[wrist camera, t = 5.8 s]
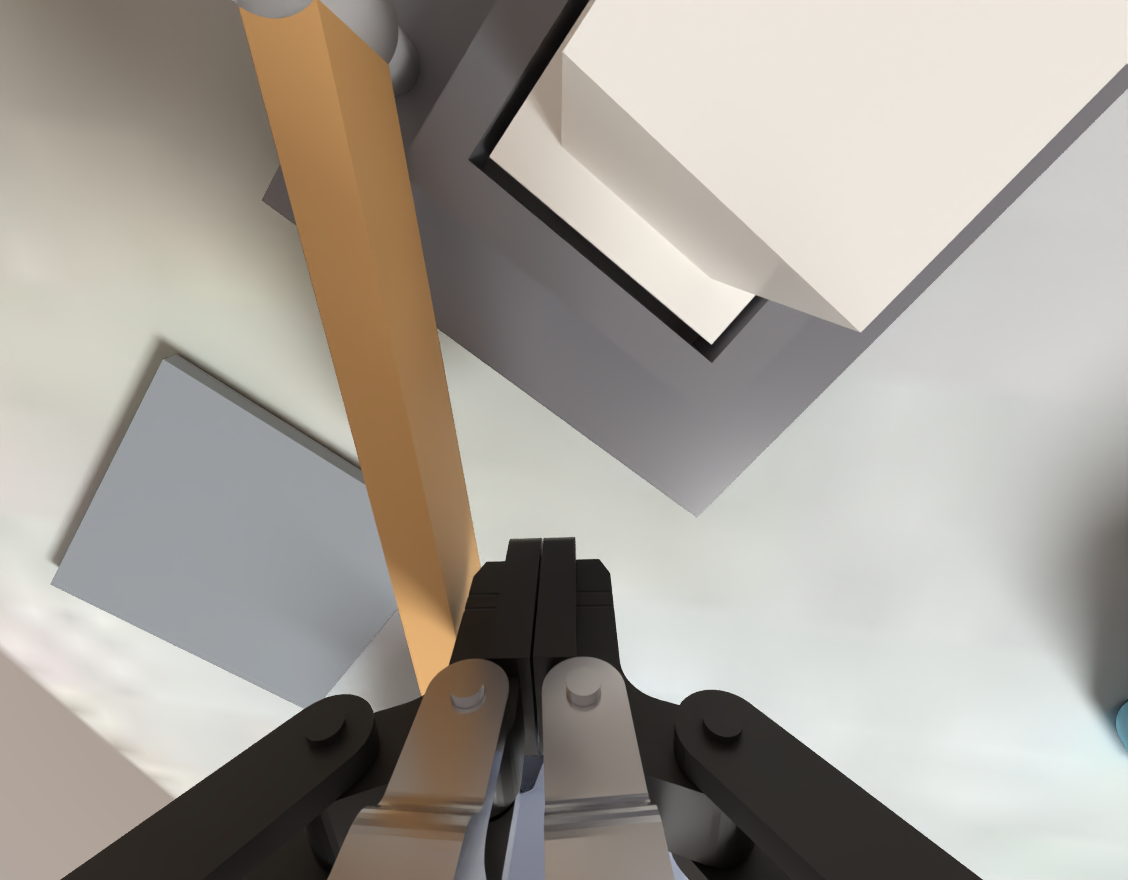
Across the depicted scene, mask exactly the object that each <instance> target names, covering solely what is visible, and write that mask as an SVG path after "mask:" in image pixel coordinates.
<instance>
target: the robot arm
mask: <svg viewBox="0 0 1128 880" xmlns="http://www.w3.org/2000/svg"><path fill="white" fill-rule="evenodd" d="M538 740H539V741H540V754H541V755H543V757H544V792H545V812H544V853H545V880H675V879H674V874H673V870H672V865H671V861H670V856H669V852H671V854H672V857H673V859H674V861H675V862H676V864H677V866H678V867H679V868H680V870H681V871H682V872H683V874H684V875H685V876H686V877H687V878H688V879H689V880H982V879H981V878H980V877H978V876H977V875H976V874H975V873H973V872H972V871H971V870H969V869H968V868H967V867H965V866H964V865H963V864H961V863H960V862H959V861H957V860H956V859H955V858H953V857H952V856H951V855H949V854H948V853H947V852H945V851H944V850H943V849H942V848H940V847H939V846H938V845H936V844H935V843H934V842H932V841H931V840H930V839H928V838H927V837H926V836H924V835H923V834H922V833H920V832H919V831H918V830H916V829H915V828H914V827H912V826H911V825H910V824H909V823H907V822H906V821H905V820H903V819H902V818H901V817H899V816H898V815H897V814H895V813H894V812H893V811H891V810H890V809H889V808H887V807H886V806H885V805H883V804H882V803H881V802H879V801H878V800H877V799H876V798H874V797H873V796H872V795H870V794H869V793H868V792H866V791H865V790H864V789H862V788H861V787H860V786H858V785H857V784H856V783H854V782H853V781H852V780H850V779H849V778H848V777H846V776H845V775H844V774H843V773H841V772H840V771H839V770H837V769H836V768H835V767H833V766H832V765H831V764H829V763H828V762H827V761H825V760H824V759H823V758H821V757H820V756H819V755H817V754H816V753H815V752H813V751H812V750H811V749H810V748H808V747H807V746H806V745H804V744H803V743H802V742H800V741H799V740H798V739H796V738H795V737H794V736H792V735H791V734H790V733H788V732H787V731H786V730H784V729H783V728H782V727H780V726H779V725H778V724H777V723H775V722H774V721H773V720H771V719H770V718H769V717H767V716H766V715H765V714H763V713H762V712H761V711H759V710H758V709H757V708H755V707H754V706H753V705H751V704H750V703H749V702H747V701H746V700H744V699H743V698H741V697H739V696H737V695H734V694H732V693H729V692H725V691H720V690H703V691H699V692H696V693H693V694H691V695H690V696H688V697H687V698H685V699H684V700H683V701H682V702H681V704H680V705H677V704H673V703H669V702H666V701H662V700H659V699H656V698H653V697H650V696H648V695H646V694H644V693H642V692H641V691H639V690H638V689H637V688H635V687H634V686H633V685H632V684H631V683H630V682H629V681H628V679H627V678H626V677H625V675H624V673H623V671H622V669H621V665H620V659H619V650H618V641H617V632H616V622H615V613H614V604H613V595H612V586H611V577H610V573H609V571H608V570H607V569H606V567H605V566H604V565H603V563H602V562H601V561H600V560H599V559H582V560H576V544H575V537H565V538H544V539H543V541H542V538H529V539H510V541H509V545H508V550H507V555H506V560H505V561H501V562H486V563H485V564H484V565H483V566H482V568H481V569H480V570H479V571H478V572H477V573H476V574H475V575H474V576H473V580H472V583H471V587H470V590H469V597H468V598H467V601H466V605H465V611H464V612H463V616H462V619H461V623H460V626H459V630H458V634H457V637H456V641H455V644H454V648H453V652H452V655H451V659H450V662H449V666H447V667H446V668H444V669H443V670H441V671H440V672H439V673H438V674H437V675H436V676H435V677H434V678H433V679H432V681H431V682H430V683H429V685H428V687H427V690H426V692H425V694H424V695H423V696H421V697H419V698H417V699H415V700H413V701H411V702H408V703H405V704H402V705H399V706H395V707H392V708H389V709H385V710H382V711H378V712H375V713H373V710H372V708H371V706H370V704H369V703H368V702H367V701H366V700H364V699H363V698H361V697H359V696H355V695H350V694H341V695H334V696H330V697H327V698H324V699H321V700H319V701H317V702H315V703H313V704H311V705H310V706H308V707H306V708H305V709H303V710H302V711H301V712H299V713H298V714H296V715H295V716H293V717H292V718H291V719H289V720H288V721H286V722H285V723H283V724H282V725H281V726H279V727H278V728H276V729H275V730H273V731H272V732H271V733H269V734H268V735H266V736H265V737H263V738H262V739H261V740H259V741H258V742H256V743H255V744H253V745H252V746H251V747H249V748H248V749H246V750H245V751H243V752H242V753H241V754H239V755H238V756H236V757H235V758H233V759H232V760H231V761H229V762H228V763H226V764H225V765H223V766H222V767H221V768H219V769H218V770H216V771H215V772H214V773H212V774H211V775H209V776H208V777H206V778H205V779H204V780H202V781H201V782H199V783H198V784H196V785H195V786H194V787H192V788H191V789H189V790H188V791H186V792H185V793H184V794H182V795H181V796H179V797H178V798H176V799H175V800H174V801H172V802H171V803H169V804H168V805H167V806H165V807H164V808H162V809H161V810H159V811H158V812H156V813H155V814H154V815H152V816H151V817H149V818H148V819H146V820H145V821H144V822H142V823H141V824H139V825H138V826H136V827H135V828H134V829H132V830H131V831H129V832H128V833H126V834H125V835H124V836H122V837H121V838H119V839H118V840H117V841H115V842H114V843H112V844H111V845H109V846H108V847H107V848H105V849H104V850H102V851H101V852H99V853H98V854H97V855H95V856H94V857H92V858H91V859H89V860H88V861H86V862H85V863H84V864H82V865H81V866H79V867H78V868H76V869H75V870H74V871H72V872H71V873H69V874H68V875H67V876H65V877H64V878H62V879H61V880H508V874H509V868H510V862H511V856H512V850H513V843H514V837H515V831H516V825H517V819H518V813H519V807H520V797H521V796H520V787H521V782H522V774H523V763H524V755H538ZM668 851H669V852H668Z"/></svg>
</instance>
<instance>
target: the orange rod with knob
mask: <svg viewBox="0 0 1128 880" xmlns="http://www.w3.org/2000/svg"><path fill="white" fill-rule="evenodd" d="M232 1H233V2H234V3H236V4H237V5H238V6H239V10H240V14H241V17H242V21H243V25H244V29H245V32H246V36H247V40H248V44H249V48H250V51H251V55H252V59H253V63H254V66H255V70H256V74H257V78H258V81H259V85H260V89H261V93H262V97H263V100H264V104H265V108H266V112H267V115H268V119H269V123H270V127H271V131H272V134H273V138H274V142H275V146H276V149H277V153H278V157H279V161H280V164H281V168H282V172H283V176H284V180H285V183H286V187H287V191H288V195H289V198H290V202H291V206H292V210H293V213H294V217H295V221H296V225H297V229H298V232H299V236H300V240H301V244H302V247H303V251H304V255H305V259H306V263H307V266H308V270H309V274H310V278H311V281H312V285H313V289H314V293H315V296H316V300H317V304H318V308H319V312H320V315H321V319H322V323H323V327H324V330H325V334H326V338H327V342H328V345H329V349H330V353H331V357H332V361H333V364H334V368H335V372H336V376H337V379H338V383H339V387H340V391H341V395H342V398H343V402H344V406H345V410H346V413H347V417H348V421H349V425H350V428H351V432H352V436H353V440H354V444H355V447H356V451H357V455H358V459H359V462H360V466H361V470H362V474H363V478H364V481H365V485H366V489H367V493H368V496H369V500H370V504H371V508H372V511H373V515H374V519H375V523H376V527H377V530H378V534H379V538H380V542H381V545H382V549H383V553H384V557H385V560H386V564H387V568H388V572H389V576H390V579H391V583H392V587H393V591H394V594H395V598H396V602H397V606H398V610H399V613H400V617H401V621H402V625H403V628H404V632H405V636H406V640H407V643H408V647H409V651H410V655H411V659H412V662H413V666H414V670H415V674H416V677H417V681H418V685H419V689H420V692H421V696H423V695H424V694H425V692H426V690H427V687H428V685H429V683H430V682H431V681H432V679H433V678H434V677H435V676H436V675H437V674H438V673H439V672H440V671H441V670H443V669H444V668H446V667H447V666H449V662H450V659H451V655H452V652H453V648H454V644H455V641H456V637H457V634H458V630H459V626H460V623H461V619H462V616H463V612H464V611H465V605H466V601H467V598H468V597H469V590H470V587H471V583H472V580H473V576H474V575H475V574H476V573H477V572H478V571H479V570H480V569H481V566H480V561H479V555H478V550H477V544H476V539H475V533H474V528H473V522H472V517H471V512H470V506H469V501H468V495H467V490H466V484H465V479H464V473H463V468H462V463H461V457H460V452H459V446H458V441H457V435H456V430H455V424H454V419H453V414H452V408H451V403H450V397H449V392H448V386H447V381H446V375H445V370H444V365H443V359H442V354H441V348H440V343H439V337H438V332H437V326H436V321H435V316H434V310H433V305H432V299H431V294H430V288H429V283H428V277H427V272H426V267H425V261H424V256H423V250H422V245H421V239H420V234H419V228H418V223H417V218H416V212H415V207H414V201H413V196H412V190H411V185H410V179H409V174H408V169H407V163H406V158H405V152H404V147H403V141H402V136H401V130H400V125H399V119H398V114H397V109H396V103H395V98H394V92H393V87H392V81H391V76H390V70H389V65H388V64H389V63H390V61H391V60H392V58H393V56H394V53H395V50H396V47H397V43H398V20H397V15H396V11H395V8H394V6H393V3H392V1H391V0H232Z"/></svg>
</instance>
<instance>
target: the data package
mask: <svg viewBox="0 0 1128 880" xmlns="http://www.w3.org/2000/svg"><path fill="white" fill-rule="evenodd" d="M1116 728H1117V732H1118V735H1119V737H1120V740H1121V741H1122V743H1123V745H1124V746H1125V748H1126V749H1127V751H1128V701H1127V702H1126V703H1125V704H1124V705H1123V706H1122V707H1121V708H1120V710H1119V712H1118V715H1117V718H1116Z"/></svg>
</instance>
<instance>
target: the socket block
mask: <svg viewBox="0 0 1128 880" xmlns="http://www.w3.org/2000/svg"><path fill="white" fill-rule="evenodd" d="M391 1H392V3H393V6H394V8H395V11H396V15H397V20H398V43H397V47H396V50H395V53H394V56H393V58H392V60H391V61H390V63H389V64H388V65H389V70H390V76H391V81H392V87H393V92H394V98H395V103H396V109H397V114H398V119H399V125H400V130H401V136H402V141H403V147H404V152H405V158H406V163H407V169H408V174H409V179H410V185H411V190H412V196H413V201H414V207H415V212H416V218H417V223H418V228H419V234H420V239H421V245H422V250H423V256H424V261H425V267H426V272H427V277H428V283H429V288H430V294H431V299H432V305H433V310H434V316H435V321H436V326H437V328H438V329H439V330H440V331H442V332H443V333H444V334H446V335H447V336H449V337H450V338H451V339H453V340H454V341H455V342H457V343H458V344H460V345H461V346H462V347H464V348H465V349H466V350H468V351H469V352H471V353H472V354H473V355H475V356H476V357H477V358H479V359H480V360H481V361H483V362H484V363H486V364H487V365H488V366H490V367H491V368H492V369H494V370H495V371H497V372H498V373H499V374H501V375H502V376H503V377H505V378H506V379H508V380H509V381H510V382H512V383H513V384H514V385H516V386H517V387H518V388H520V389H521V390H523V391H524V392H525V393H527V394H528V395H529V396H531V397H532V398H534V399H535V400H536V401H538V402H539V403H540V404H542V405H543V406H545V407H546V408H547V409H549V410H550V411H551V412H553V413H554V414H555V415H557V416H558V417H560V418H561V419H562V420H564V421H565V422H566V423H568V424H569V425H571V426H572V427H573V428H575V429H576V430H577V431H579V432H580V433H582V434H583V435H584V436H586V437H587V438H588V439H590V440H591V441H592V442H594V443H595V444H597V445H598V446H599V447H601V448H602V449H603V450H605V451H606V452H608V453H609V454H610V455H612V456H613V457H614V458H616V459H617V460H619V461H620V462H621V463H623V464H624V465H625V466H627V467H628V468H629V469H631V470H632V471H634V472H635V473H636V474H638V475H639V476H640V477H642V478H643V479H645V480H646V481H647V482H649V483H650V484H651V485H653V486H654V487H656V488H657V489H658V490H660V491H661V492H662V493H664V494H665V495H666V496H668V497H669V498H671V499H672V500H673V501H675V502H676V503H677V504H679V505H680V506H682V507H683V508H684V509H686V510H687V511H688V512H690V513H691V514H693V515H694V516H695V517H698V516H699V515H700V514H701V513H702V512H703V511H704V510H705V509H706V508H707V507H708V506H709V505H710V504H711V503H712V502H713V501H714V500H715V499H716V498H717V497H718V496H719V495H720V494H721V493H722V492H723V491H724V490H725V489H726V488H727V487H728V486H729V485H730V484H731V483H732V482H733V481H734V480H735V479H736V478H737V477H738V476H739V475H740V474H741V473H742V472H743V471H744V470H745V469H746V468H747V467H748V466H749V465H750V464H751V463H752V462H753V461H754V460H755V459H756V458H757V457H758V456H759V455H760V454H761V453H762V452H763V451H764V450H765V449H766V448H767V447H768V446H769V445H770V444H771V443H772V442H773V441H774V440H775V439H776V438H777V437H778V436H779V435H780V434H781V433H782V432H783V431H784V430H785V429H786V428H787V427H788V426H789V425H790V424H791V423H792V422H793V421H794V420H795V419H796V418H797V417H798V416H799V415H800V414H801V413H802V412H803V411H804V410H805V409H806V408H807V407H808V406H809V405H810V404H811V403H812V402H813V401H814V400H815V399H816V398H817V397H818V396H819V395H820V394H821V393H822V392H823V391H824V390H825V389H826V388H827V387H828V386H829V385H830V384H831V383H832V382H833V381H834V380H835V379H836V378H837V377H838V376H839V375H840V374H841V373H842V372H843V371H844V370H845V369H846V368H847V367H848V366H849V365H850V364H851V363H852V362H853V361H854V360H855V359H856V358H857V357H858V356H859V355H860V354H862V353H863V352H864V351H865V350H866V349H867V348H868V347H869V346H870V345H871V344H872V343H873V342H874V341H875V340H876V339H877V338H878V337H879V336H880V335H881V334H882V333H883V332H884V331H885V330H886V329H887V328H888V327H889V326H890V325H891V324H892V323H893V322H894V321H895V320H896V319H897V318H898V317H899V316H900V315H901V314H902V313H903V312H904V311H905V310H906V309H907V308H908V307H909V306H910V305H911V304H912V303H913V302H914V301H915V300H916V299H917V298H918V297H919V296H920V295H921V294H922V293H923V292H924V291H925V290H926V289H927V288H928V287H929V286H930V285H931V284H932V283H933V282H934V281H935V280H936V279H937V278H938V277H939V276H940V275H941V274H942V273H943V272H944V271H945V270H946V269H947V268H948V267H949V266H950V265H951V264H952V263H953V262H954V261H955V260H956V259H957V258H958V257H959V256H960V255H961V254H962V253H963V252H964V251H965V250H966V249H967V248H968V247H969V246H970V245H971V244H972V243H973V242H974V241H975V240H976V239H977V238H978V237H979V236H980V235H981V234H982V233H983V232H984V231H985V230H986V229H987V228H988V227H989V226H990V225H991V224H992V223H993V222H994V221H995V220H996V219H997V218H998V217H999V216H1000V215H1001V214H1002V213H1003V212H1004V211H1005V210H1006V209H1007V208H1008V207H1009V206H1010V205H1011V204H1012V203H1013V202H1014V201H1015V200H1016V199H1017V198H1018V197H1019V196H1020V195H1021V194H1022V193H1023V192H1024V191H1025V190H1026V189H1027V188H1028V187H1029V186H1030V185H1031V184H1032V183H1033V182H1034V181H1035V180H1036V179H1037V178H1038V177H1039V176H1040V175H1041V174H1042V173H1043V172H1044V171H1045V170H1046V169H1047V168H1048V167H1049V166H1050V165H1051V164H1052V163H1053V162H1054V161H1055V160H1056V159H1057V158H1058V157H1059V156H1060V155H1061V154H1062V153H1063V152H1064V151H1065V150H1066V149H1067V148H1068V147H1069V146H1070V145H1071V144H1072V143H1073V142H1074V141H1075V140H1076V139H1077V138H1078V137H1079V136H1080V135H1081V134H1082V133H1083V132H1084V131H1085V130H1086V129H1087V128H1088V127H1089V126H1090V125H1091V124H1092V123H1093V122H1094V121H1095V120H1096V119H1097V118H1098V117H1099V116H1100V115H1101V114H1102V113H1103V112H1104V111H1105V110H1106V109H1107V108H1108V107H1109V106H1110V105H1111V104H1112V103H1113V102H1114V101H1115V100H1116V99H1117V98H1118V97H1119V96H1120V95H1121V94H1122V93H1123V92H1124V91H1125V90H1126V89H1127V88H1128V64H1126V65H1125V66H1124V67H1123V68H1122V69H1121V70H1120V71H1119V72H1118V73H1117V74H1116V75H1115V76H1114V77H1113V78H1112V79H1111V80H1110V81H1109V82H1108V83H1107V84H1106V85H1105V86H1104V87H1103V88H1102V89H1101V90H1100V91H1099V92H1098V93H1097V94H1096V95H1095V96H1094V97H1093V98H1092V99H1091V100H1090V101H1089V102H1088V103H1087V104H1086V105H1085V106H1084V107H1083V108H1082V109H1081V110H1080V111H1079V112H1078V113H1077V114H1076V115H1075V116H1074V117H1073V118H1072V119H1071V120H1070V121H1069V122H1068V123H1067V124H1066V125H1065V126H1064V127H1063V128H1062V129H1061V130H1060V131H1059V132H1058V133H1057V134H1056V136H1055V137H1054V138H1053V139H1052V140H1051V141H1050V142H1049V143H1048V144H1047V145H1046V146H1045V147H1044V148H1043V149H1042V150H1041V151H1040V152H1039V153H1038V154H1037V155H1036V156H1035V157H1034V158H1033V159H1032V160H1031V161H1030V162H1029V163H1028V164H1027V165H1026V166H1025V167H1024V168H1023V169H1022V170H1021V171H1020V172H1019V173H1018V174H1017V175H1016V176H1015V177H1014V178H1013V179H1012V180H1011V181H1010V182H1009V183H1008V184H1007V185H1006V186H1005V187H1004V188H1003V189H1002V190H1001V191H1000V192H999V193H998V194H997V195H996V196H995V197H994V198H993V199H992V200H991V201H990V202H989V203H988V204H987V205H986V206H985V207H984V208H983V209H982V210H981V211H980V212H979V213H978V214H977V215H976V216H975V217H974V218H973V220H972V221H971V222H970V223H969V224H968V225H967V226H966V227H965V228H964V229H963V230H962V231H961V232H960V233H959V234H958V235H957V236H956V237H955V238H954V239H953V240H952V241H951V242H950V243H949V244H948V245H947V246H946V247H945V248H944V249H943V250H942V251H941V252H940V253H939V254H938V255H937V256H936V257H935V258H934V259H933V260H932V261H931V262H930V263H929V264H928V265H927V266H926V267H925V268H924V269H923V270H922V271H921V272H920V273H919V274H918V275H917V276H916V277H915V278H914V279H913V280H912V281H911V282H910V283H909V284H908V285H907V286H906V287H905V288H904V289H903V290H902V291H901V292H900V293H899V294H898V295H897V296H896V297H895V298H894V299H893V300H892V301H891V302H890V303H889V305H888V306H887V307H886V308H885V309H884V310H883V311H882V312H881V313H880V314H879V315H878V316H877V317H876V318H875V319H874V320H873V321H872V322H871V323H870V324H869V325H868V326H867V327H866V328H865V329H864V330H863V331H862V332H861V333H860V332H858V331H855V330H852V329H849V328H846V327H844V326H841V325H838V324H835V323H832V322H830V321H827V320H824V319H821V318H818V317H816V316H813V315H810V314H807V313H805V312H802V311H799V310H796V309H793V308H791V307H788V306H785V305H782V304H779V303H777V302H774V301H771V300H768V299H766V298H763V297H760V296H757V295H755V296H754V297H753V299H752V300H751V301H750V302H749V303H748V304H747V305H746V306H745V308H744V309H743V310H742V311H741V312H740V313H739V314H738V315H737V317H736V318H735V319H734V320H733V321H732V322H731V323H730V324H729V326H728V327H727V328H726V329H725V330H724V331H723V332H722V333H721V335H720V336H719V337H718V338H717V339H716V340H715V341H714V342H713V344H712V345H711V344H710V343H709V342H708V341H706V340H705V339H704V338H703V337H701V336H700V335H699V334H698V333H696V332H695V331H694V330H692V329H691V328H690V327H689V326H688V325H686V324H685V323H684V322H683V321H682V320H681V319H679V318H678V317H677V316H676V315H675V314H673V313H672V312H671V311H670V310H669V309H668V308H666V307H665V306H664V305H663V304H662V303H660V302H659V301H658V300H657V299H656V298H655V297H653V296H652V295H651V294H650V293H649V292H647V291H646V290H645V289H644V288H643V287H641V286H640V285H639V284H638V283H637V282H636V281H634V280H633V279H632V278H631V277H630V276H628V275H627V274H626V273H625V272H624V271H623V270H621V269H620V268H619V267H618V266H617V265H615V264H614V263H613V262H612V261H611V260H610V259H608V258H607V257H606V256H605V255H604V254H602V253H601V252H600V251H599V250H598V249H597V248H595V247H594V246H593V245H592V244H591V243H589V242H588V241H587V240H586V239H585V238H583V237H582V236H581V235H580V234H579V233H578V232H576V231H575V230H574V229H573V228H572V227H570V226H569V225H568V224H567V223H566V222H565V221H563V220H562V219H561V218H560V217H559V216H557V215H556V214H555V213H554V212H553V211H552V210H550V209H549V208H548V207H547V206H546V205H544V204H543V203H542V202H541V201H540V200H539V199H537V198H536V197H535V196H534V195H533V194H531V193H530V192H529V191H528V190H527V189H526V188H524V187H523V186H522V185H521V184H520V183H518V182H517V181H516V180H515V179H514V178H512V177H511V176H510V175H509V174H508V173H507V172H505V171H504V170H503V169H502V168H501V167H500V166H499V165H497V164H496V163H495V162H494V161H493V160H492V159H491V158H490V157H489V156H490V155H491V153H492V151H493V150H494V148H495V147H496V145H497V144H498V142H499V141H500V139H501V137H502V136H503V134H504V133H505V131H506V130H507V128H508V127H509V125H510V123H511V122H512V120H513V119H514V117H515V116H516V114H517V113H518V111H519V109H520V108H521V106H522V105H523V103H524V102H525V100H526V99H527V97H528V95H529V94H530V92H531V91H532V89H533V88H534V86H535V85H536V83H537V81H538V80H539V78H540V77H541V75H542V74H543V72H544V71H545V69H546V67H547V66H548V64H549V63H550V61H551V60H552V58H553V57H554V55H555V53H556V52H557V50H558V49H559V47H560V46H561V44H562V43H563V41H564V39H565V38H566V36H567V35H568V33H569V32H570V30H571V29H572V27H573V25H574V24H575V22H576V21H577V19H578V18H579V16H580V15H581V13H582V11H583V10H584V8H585V7H586V5H587V4H588V2H589V1H590V0H391ZM262 201H264V202H265V203H266V204H268V205H269V206H270V207H272V208H273V209H275V210H276V211H277V212H279V213H280V214H281V215H283V216H284V217H286V218H287V219H288V220H290V221H291V222H292V223H294V224H295V225H296V221H295V217H294V213H293V210H292V206H291V202H290V198H289V195H288V191H287V187H286V183H285V180H284V176H283V172H282V168H281V164H280V166H279V168H278V170H277V172H276V174H275V176H274V177H273V179H272V181H271V183H270V185H269V187H268V189H267V191H266V193H265V195H264V197H263V199H262ZM296 226H297V225H296Z"/></svg>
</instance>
